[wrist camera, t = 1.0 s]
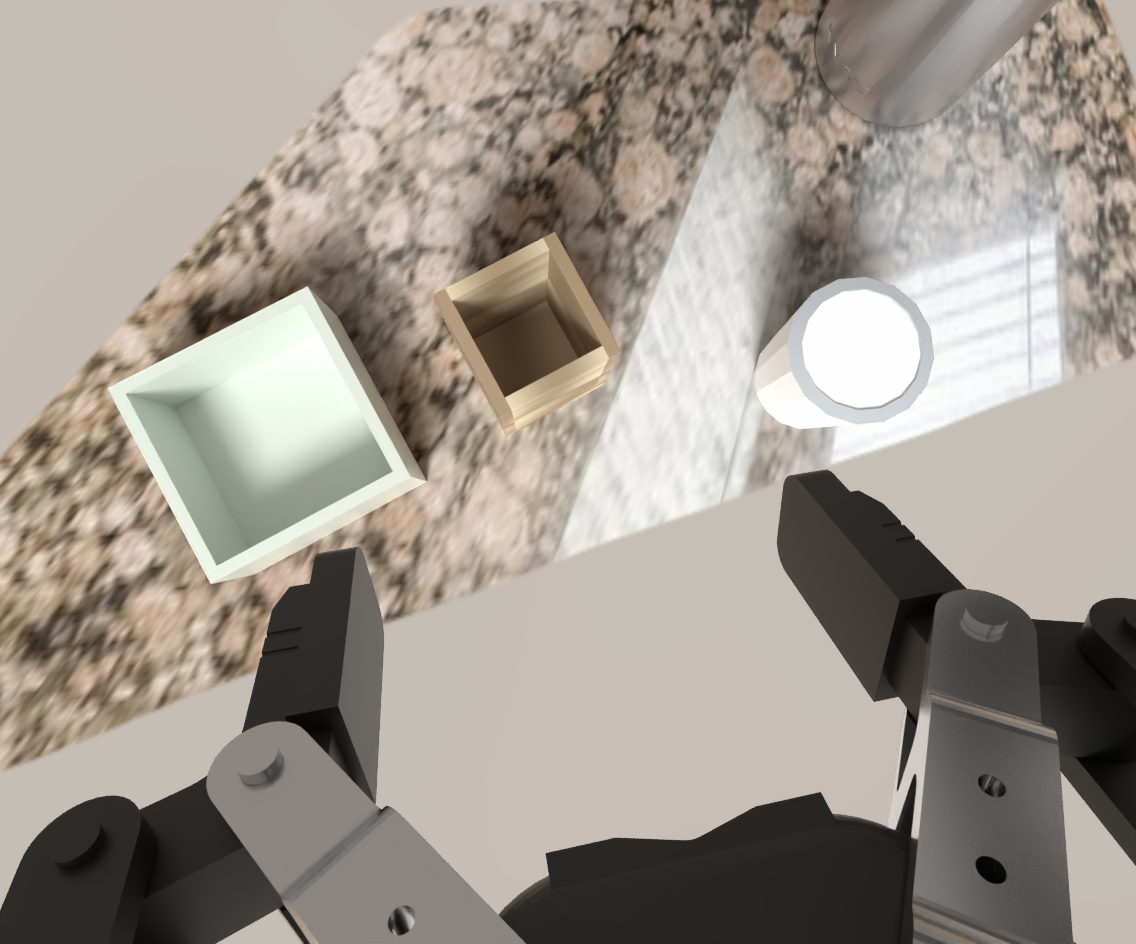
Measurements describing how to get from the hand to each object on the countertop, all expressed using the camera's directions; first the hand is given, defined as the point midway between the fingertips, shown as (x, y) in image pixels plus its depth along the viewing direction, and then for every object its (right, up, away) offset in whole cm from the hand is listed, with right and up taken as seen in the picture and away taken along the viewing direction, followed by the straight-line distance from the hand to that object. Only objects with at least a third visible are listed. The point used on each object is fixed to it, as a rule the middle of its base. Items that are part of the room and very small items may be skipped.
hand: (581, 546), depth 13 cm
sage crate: (-15, +3, +24) cm, 29 cm away
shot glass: (+13, +7, +26) cm, 30 cm away
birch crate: (-2, +7, +25) cm, 26 cm away
